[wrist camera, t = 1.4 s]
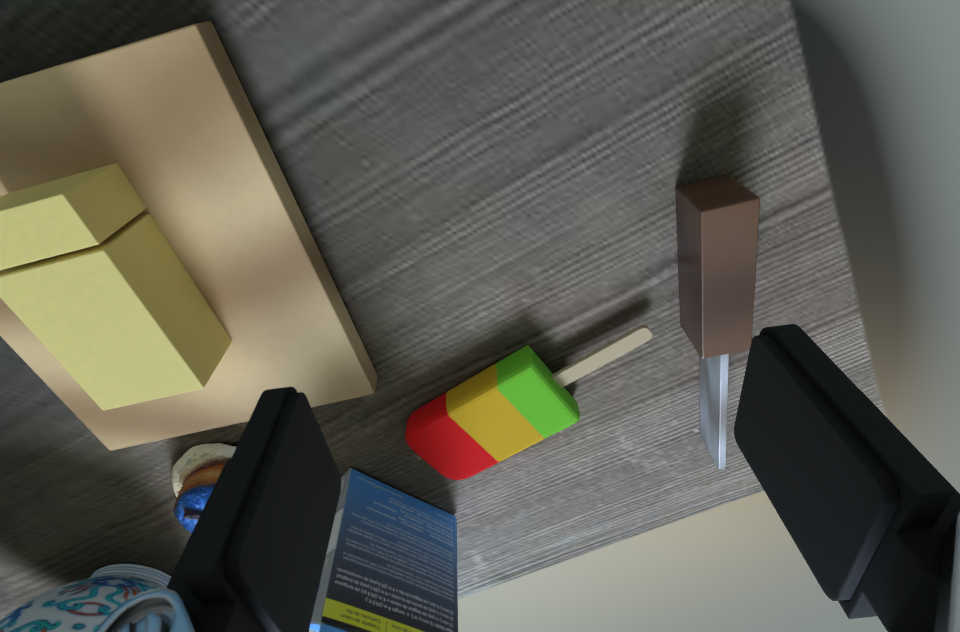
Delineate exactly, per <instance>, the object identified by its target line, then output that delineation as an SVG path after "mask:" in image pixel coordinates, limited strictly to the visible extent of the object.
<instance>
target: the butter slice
mask: <svg viewBox="0 0 960 632" xmlns="http://www.w3.org/2000/svg"><path fill="white" fill-rule="evenodd" d="M145 209H146V206H145V205H144V203H143V202H142V200H141V199H140V197H139V196H138V194H137V192H136V191H135V189H134V188H133V186H132V185H131V183H130V182H129V180H128V178H127V177H126V175H125V174H124V172H123V171H122V169H121V168H120V166H119V164H118V163H114V164H111V165H107V166H103V167H100V168H96V169H93V170H89V171H85V172H82V173H78V174H75V175H71V176H67V177H64V178H60V179H57V180H53V181H50V182H46V183H42V184H39V185H35V186H32V187H28V188H24V189H21V190H17V191H14V192H10V193H7V194H5V195H3V196H1V197H0V270H3V269H7V268H11V267H15V266H18V265H22V264H26V263H30V262H34V261H38V260H41V259H45V258H49V257H53V256H57V255H61V254H64V253H68V252H72V251H76V250H80V249H83V248H87V247H91V246H95V245H99V244H100V243H101V242H103V241H104V240H105V239H107V238H108V237H109V236H111V235H112V234H113V233H115V232H116V231H117V230H119V229H120V228H121V227H123V226H124V225H125V224H127V223H128V222H129V221H130V220H132V219H133V218H134V217H136V216H137V215H138V214H140V213H141V212H142V211H144V210H145Z"/></svg>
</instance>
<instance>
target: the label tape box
mask: <svg viewBox="0 0 960 632" xmlns="http://www.w3.org/2000/svg"><path fill="white" fill-rule="evenodd" d="M457 591H458V589H457V519H456V517H455V516H454V515H452V514H450V513H448V512H446V511H443V510H441V509H439V508H437V507H434V506H432V505H430V504H428V503H425V502H423V501H421V500H419V499H416V498H414V497H412V496H410V495H407V494H405V493H403V492H401V491H399V490H397V489H394V488H392V487H390V486H388V485H386V484H384V483H382V482H379V481H377V480H375V479H373V478H371V477H369V476H367V475H365V474H362V473H360V472H358V471H356V470H354V469H352V468H350V469H349V470H348V471H347V472H346V473H345V474H344V475H343V476H342V477H341V492H340V496H339V501H338V505H337V509H336V514H335V518H334V522H333V527H332V531H331V536H330V540H329V544H328V549H327V553H326V558H325V562H324V566H323V571H322V575H321V580H320V584H319V588H318V593H317V597H316V602H315V606H314V610H313V615H312V619H311V624H310V628H309V629H310V630H313V631H316V632H458V608H457V607H458V604H457V603H458V600H457Z"/></svg>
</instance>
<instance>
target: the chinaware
mask: <svg viewBox="0 0 960 632" xmlns="http://www.w3.org/2000/svg"><path fill="white" fill-rule="evenodd" d="M170 579H171V576H170V575H168V574H166V573H164V572H162V571H160V570H157V569H154V568H151V567H147V566H143V565H136V564H114V565H109V566H105V567H102V568H100V569H98V570H96V571H95V572H94V573H93V574H92V575H91V577H90V578H87V579H83V580H79V581H75V582H72V583H69V584H66V585H63V586H60V587H57V588H55V589H52V590H50V591H48V592H46V593H43V594H41V595H39V596H37V597H35V598H34V599H32V600H30V601H28V602H26V603H25V604H23V605H21V606H20V607H18V608H17V609H15V610H14V611H12V612H11V613H9V614H8V615H6V616H5V617H4V618H2V619H1V620H0V632H95V631H96V630H97V628H98V626H99V625H100V624H101V623H102V622H103V621H104V620H105V619H106V618H107V616H108V615H109V614H110V613H111V612H112V611H114V610H115V609H116V608H117V607H118V606H120V605H121V604H122V603H123V602H125V601H126V600H128V599H130V598H132V597H133V596H135V595H137V594H139V593H141V592H144V591H147V590H151V589H154V588H166V587H167V585H168V583H169V581H170Z"/></svg>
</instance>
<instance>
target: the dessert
mask: <svg viewBox="0 0 960 632" xmlns="http://www.w3.org/2000/svg"><path fill="white" fill-rule="evenodd" d="M235 449H236V447H235V446H229V445H225V444H222V443H214V444H201V445H198V446H194V447H192V448H190V449H189V450H188V451H187V452H186V453H185V454H184V455H183V456H182V457H181V458H180V459H179V460H178V461H177V462H176V464H175V465H174V467H173V470H172V483H173V489H174V492H175V495H176V496H177V498H176V502H175V505H174V513H175V516H176V517H177V519H178V520H179V522H180V523H181V524H182V525H183V527H184V528H185V529H186V530H189V532H191V533H192V532H193V530H194V528H195V526H196V524H197V522H198V520H199V517H200V515H201V513H202V511H203V509H204V507H205V505H206V503H207V501H208V499H209V496H210V494H211V492H212V490H213V488H214V486H215V484H216V482H217V480H218V477H219V475H220V473H221V471H222V469H223V467H224V465H225V464H226V462H227V461H228V460H229V459H230V458H232V456H233V454H234V452H235Z"/></svg>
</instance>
